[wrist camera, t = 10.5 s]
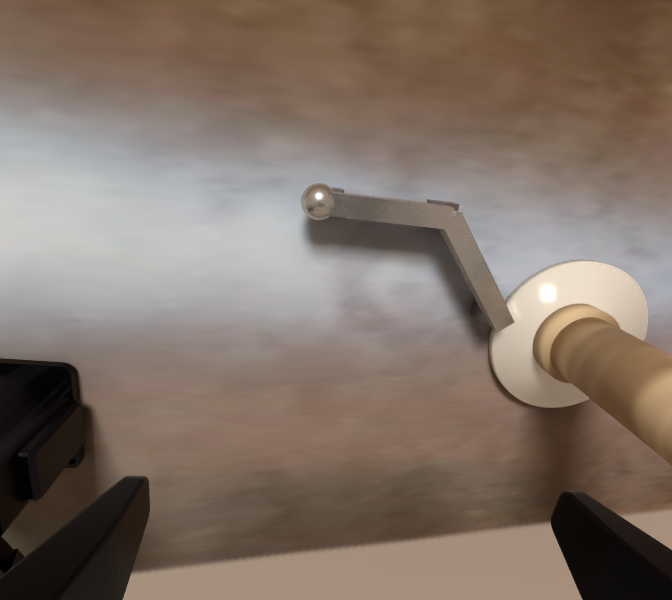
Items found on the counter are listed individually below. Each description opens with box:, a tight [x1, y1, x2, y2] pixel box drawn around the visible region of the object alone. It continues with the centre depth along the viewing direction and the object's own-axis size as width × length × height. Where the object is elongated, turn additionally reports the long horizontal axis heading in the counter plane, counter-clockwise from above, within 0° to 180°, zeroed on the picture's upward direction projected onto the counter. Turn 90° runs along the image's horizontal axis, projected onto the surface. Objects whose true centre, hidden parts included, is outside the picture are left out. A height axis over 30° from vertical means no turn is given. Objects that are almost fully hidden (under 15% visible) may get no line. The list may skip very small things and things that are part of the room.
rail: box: [301, 183, 515, 332], centre depth 19 cm, size 11×6×2 cm, turn 83°
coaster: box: [489, 260, 648, 408], centre depth 22 cm, size 9×9×1 cm
